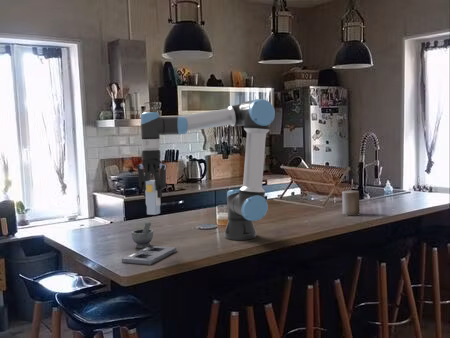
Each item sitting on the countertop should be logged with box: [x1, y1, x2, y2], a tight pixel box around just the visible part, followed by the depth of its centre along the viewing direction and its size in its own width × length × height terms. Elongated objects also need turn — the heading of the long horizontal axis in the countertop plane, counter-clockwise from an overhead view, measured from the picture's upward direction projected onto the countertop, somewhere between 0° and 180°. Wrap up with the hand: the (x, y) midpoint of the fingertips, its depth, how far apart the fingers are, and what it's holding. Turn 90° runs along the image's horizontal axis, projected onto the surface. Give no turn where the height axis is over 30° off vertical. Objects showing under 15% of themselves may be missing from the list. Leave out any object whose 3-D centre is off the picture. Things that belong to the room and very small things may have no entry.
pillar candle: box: [341, 189, 361, 216], centre depth 282 cm, size 10×10×15 cm
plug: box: [145, 179, 161, 216], centre depth 203 cm, size 4×5×14 cm
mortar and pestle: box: [131, 220, 154, 249], centre depth 219 cm, size 11×9×12 cm
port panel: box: [121, 245, 177, 266], centre depth 201 cm, size 22×13×2 cm, turn 158°
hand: (153, 205), depth 203 cm, fingers closed on plug, 4 cm apart
